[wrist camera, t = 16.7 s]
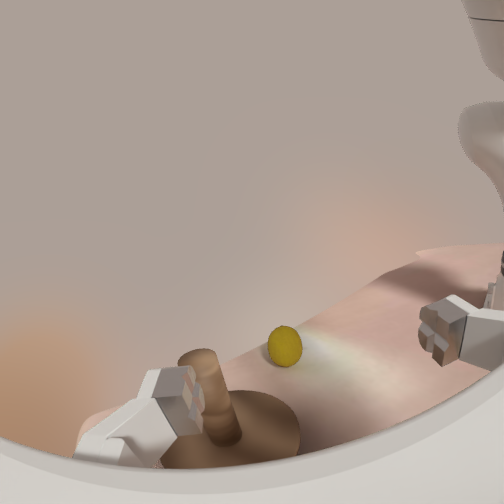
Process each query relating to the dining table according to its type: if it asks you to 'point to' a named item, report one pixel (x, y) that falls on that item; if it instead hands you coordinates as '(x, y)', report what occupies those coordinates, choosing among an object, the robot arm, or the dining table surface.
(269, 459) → the lid
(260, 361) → the dining table surface
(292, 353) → the lemon
